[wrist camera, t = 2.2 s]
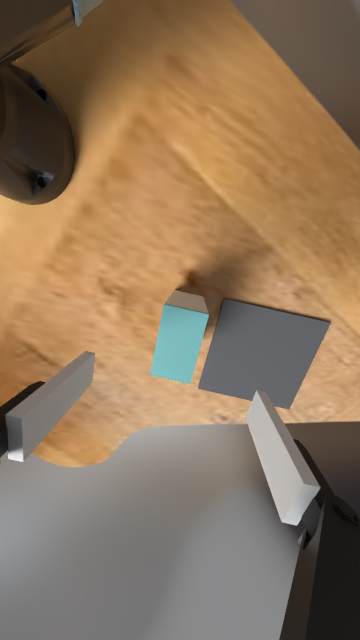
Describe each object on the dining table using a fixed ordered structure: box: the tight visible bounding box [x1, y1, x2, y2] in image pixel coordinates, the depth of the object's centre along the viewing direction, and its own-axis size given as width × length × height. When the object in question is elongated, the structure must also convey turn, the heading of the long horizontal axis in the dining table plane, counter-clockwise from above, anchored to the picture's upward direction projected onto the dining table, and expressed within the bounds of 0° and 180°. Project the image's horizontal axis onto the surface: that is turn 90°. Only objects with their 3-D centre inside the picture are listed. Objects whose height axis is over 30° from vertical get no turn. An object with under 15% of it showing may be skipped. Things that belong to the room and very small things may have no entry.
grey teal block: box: [150, 290, 209, 384], centre depth 27 cm, size 9×5×12 cm, turn 168°
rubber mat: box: [198, 298, 330, 409], centre depth 34 cm, size 18×18×1 cm
